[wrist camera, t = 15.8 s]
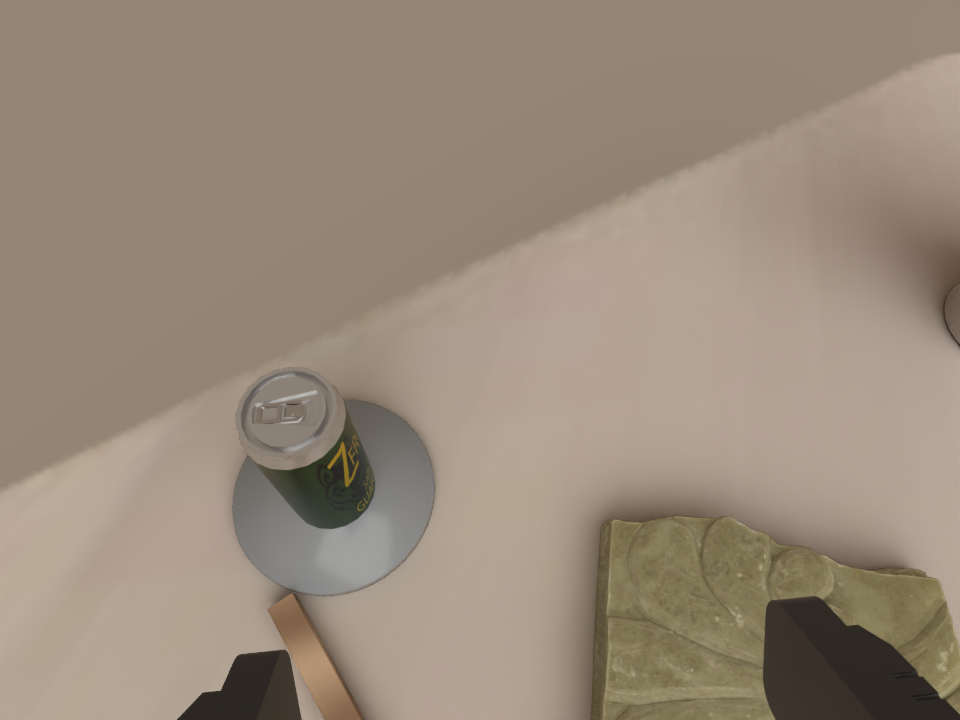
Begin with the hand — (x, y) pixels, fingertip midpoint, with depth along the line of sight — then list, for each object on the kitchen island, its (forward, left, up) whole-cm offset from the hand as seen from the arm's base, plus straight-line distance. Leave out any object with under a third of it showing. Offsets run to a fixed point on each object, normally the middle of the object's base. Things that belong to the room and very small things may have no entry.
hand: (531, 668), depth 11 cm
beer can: (+4, -16, -29) cm, 33 cm away
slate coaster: (+4, -16, -29) cm, 34 cm away
